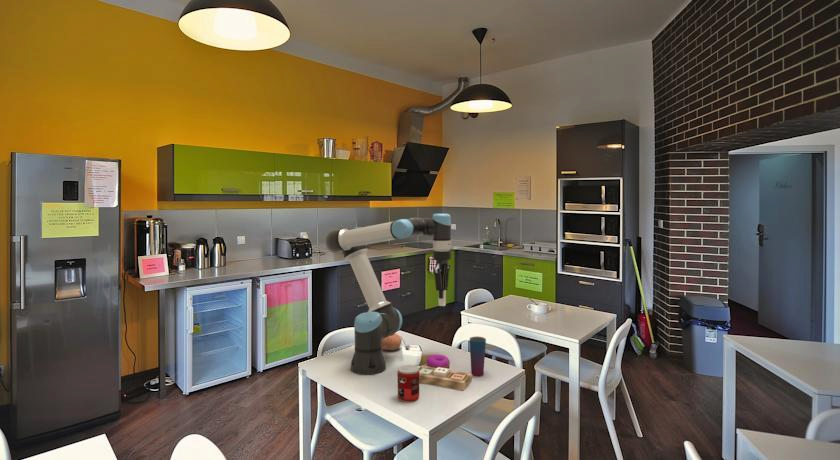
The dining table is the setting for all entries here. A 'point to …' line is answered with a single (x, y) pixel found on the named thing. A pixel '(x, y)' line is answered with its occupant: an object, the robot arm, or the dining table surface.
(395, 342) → the orange pumpkin
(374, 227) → the robot arm
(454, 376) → the button
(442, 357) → the donut
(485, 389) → the dining table surface
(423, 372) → the button
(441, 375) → the button
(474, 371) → the cup
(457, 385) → the panel
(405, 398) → the canned food
